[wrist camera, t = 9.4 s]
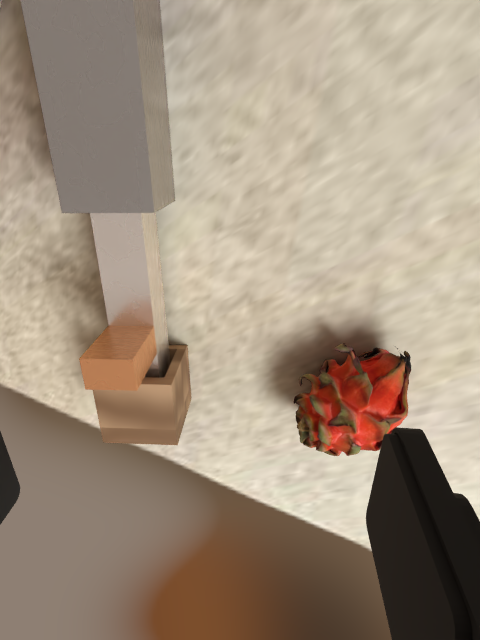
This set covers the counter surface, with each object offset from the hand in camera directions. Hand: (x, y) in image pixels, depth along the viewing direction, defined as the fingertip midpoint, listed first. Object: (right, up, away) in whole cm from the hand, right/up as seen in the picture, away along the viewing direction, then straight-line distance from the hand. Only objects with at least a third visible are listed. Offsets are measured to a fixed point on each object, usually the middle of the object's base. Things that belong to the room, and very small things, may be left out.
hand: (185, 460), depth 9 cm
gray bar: (-7, +7, +23) cm, 25 cm away
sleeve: (-7, +19, +19) cm, 28 cm away
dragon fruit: (+11, -2, +27) cm, 30 cm away
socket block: (-7, -2, +28) cm, 29 cm away
